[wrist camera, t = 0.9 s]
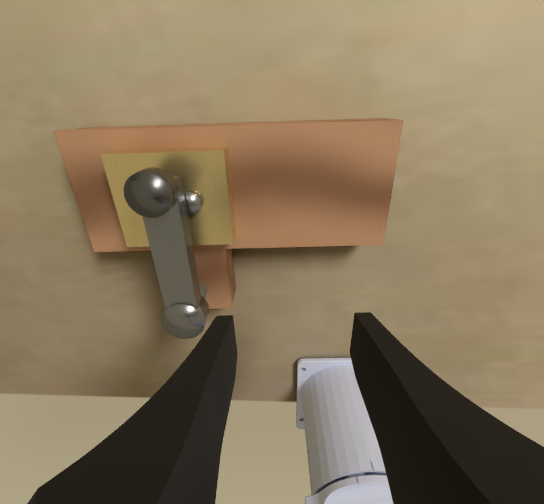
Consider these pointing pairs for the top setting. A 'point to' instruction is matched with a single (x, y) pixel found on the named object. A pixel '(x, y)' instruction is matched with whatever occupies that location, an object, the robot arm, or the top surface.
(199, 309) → the lever
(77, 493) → the robot arm
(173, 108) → the top surface
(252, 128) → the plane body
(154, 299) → the top surface
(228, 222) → the wooden block with bolt
